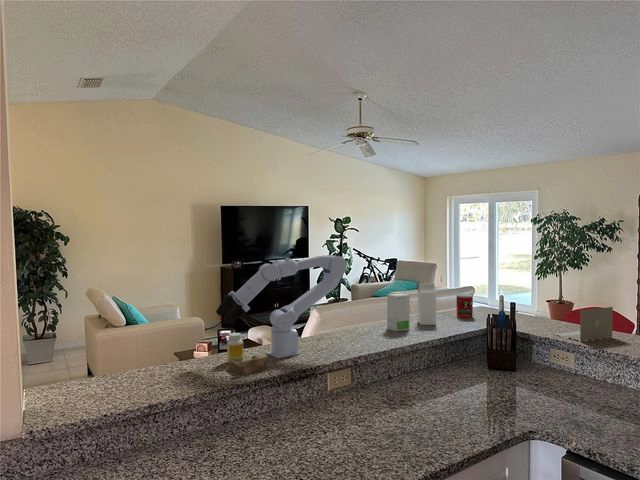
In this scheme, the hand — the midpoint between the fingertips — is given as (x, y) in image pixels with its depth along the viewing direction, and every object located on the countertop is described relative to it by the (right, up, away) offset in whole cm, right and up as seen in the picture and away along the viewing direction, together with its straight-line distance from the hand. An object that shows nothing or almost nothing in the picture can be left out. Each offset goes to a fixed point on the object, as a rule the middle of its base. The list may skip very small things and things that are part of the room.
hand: (221, 318), depth 155 cm
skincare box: (+69, -13, +45) cm, 83 cm away
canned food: (+106, -12, +70) cm, 128 cm away
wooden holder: (+10, -15, -7) cm, 20 cm away
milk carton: (+84, -12, +56) cm, 102 cm away
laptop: (+142, -13, +31) cm, 146 cm away
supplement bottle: (+5, -15, 0) cm, 16 cm away
